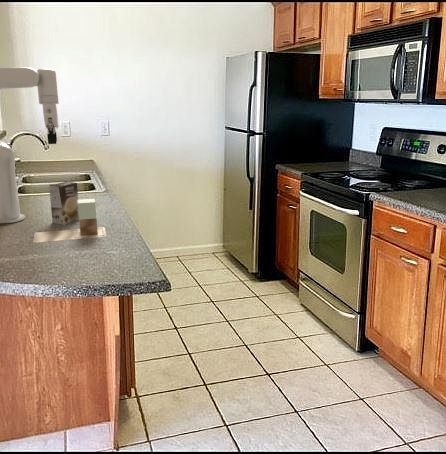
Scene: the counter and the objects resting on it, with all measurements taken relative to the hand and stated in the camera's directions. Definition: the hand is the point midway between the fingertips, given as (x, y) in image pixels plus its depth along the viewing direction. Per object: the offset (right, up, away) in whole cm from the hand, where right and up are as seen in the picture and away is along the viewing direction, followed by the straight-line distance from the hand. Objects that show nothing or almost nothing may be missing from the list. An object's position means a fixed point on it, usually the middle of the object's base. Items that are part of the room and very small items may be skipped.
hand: (52, 142), depth 207 cm
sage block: (+22, -31, -26) cm, 46 cm away
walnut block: (+22, -37, -25) cm, 50 cm away
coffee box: (+8, -34, -8) cm, 36 cm away
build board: (+15, -39, -26) cm, 49 cm away
